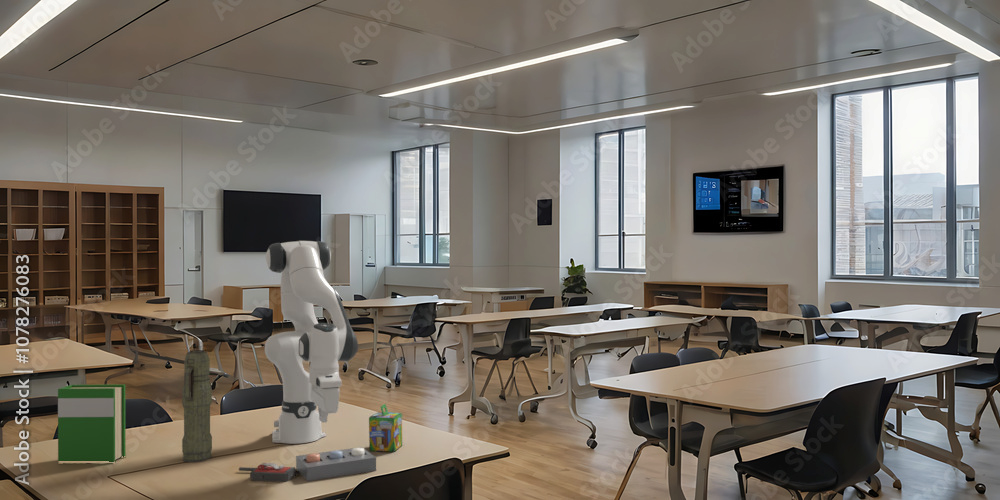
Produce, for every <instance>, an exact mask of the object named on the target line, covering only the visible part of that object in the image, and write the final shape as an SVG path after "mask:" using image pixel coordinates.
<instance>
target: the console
mask: <svg viewBox="0 0 1000 500" xmlns="http://www.w3.org/2000/svg"><path fill="white" fill-rule="evenodd" d="M353 448H354V447H352V448H344V449H338V450H339V451H342V452H343V458H340V459H333V460H330V459H329V452H331V451H332V450H330V451H323V452H317V453H318V454H320V461H319V462H312V463H307V462H306V455H308V454H309V453H308V454H300V455H296V456H295V466H296V467H295V470H296V471H300V472H299V475H301V476H302V478H304V479H305V481H306V482H310V481H311V482H312V481H317V480H323V479H330V478H337V477H343V476H350V475H356V474H362V473H369V472H376V471H377V457H376V456H375V455H373V454H372V453H371V452H370V451H369V450H367V449H366V448H364V455H361V456H354V457H353V456H352V455H351V450H352V449H353ZM357 448H363V446H360V447H357Z"/></svg>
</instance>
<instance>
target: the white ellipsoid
mask: <svg viewBox="0 0 1000 500" xmlns="http://www.w3.org/2000/svg"><path fill="white" fill-rule="evenodd" d="M352 448H353V449H352V450H351V455H352V456H353V457H354V456H361V455H364V449H365V448H364V447H362V448H358V447H352Z"/></svg>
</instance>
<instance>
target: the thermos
mask: <svg viewBox="0 0 1000 500" xmlns="http://www.w3.org/2000/svg"><path fill="white" fill-rule="evenodd" d="M183 361H184V362H183V363H184V365H183V366H184V367H183V368H184V376H183V377H184V381H183V387H182V389H181V390H182V396H181V398H182V408H183V432H184V433H183V437H182V441H181V447H182V448H181V449H182V451H181V452H182V461H183V462H186V463H197V462H205V461H208V460H210V459H211V458H212V449H213V436H212V432H211V406H212V405H211V404H212V403H213V402H212V400H213V399H212V398H213V397H212V396H213V395H212V393H213V392H212V390H213V389H212V385H211V381H210V380H211V379H210V372H211V371H210V369H211V368H210V356H209V353H208V351H205V350H203V349H202V350H201V349H200V350H199V349H197V350H189V352H187V353H186V355H185V357H184V360H183Z"/></svg>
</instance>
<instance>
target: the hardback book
mask: <svg viewBox="0 0 1000 500" xmlns="http://www.w3.org/2000/svg"><path fill="white" fill-rule="evenodd" d="M126 441H127V440H126V384H123V383H122V384H116V383H115V384H70V385H66V386H63V387H60V388H58V389H57V462H58V461H109V462H114V461H115V462H116V460H118V459H121V458H120V457H122V456H123V457H124V456H127V454H126V448H127V447H126V443H127V442H126Z"/></svg>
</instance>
